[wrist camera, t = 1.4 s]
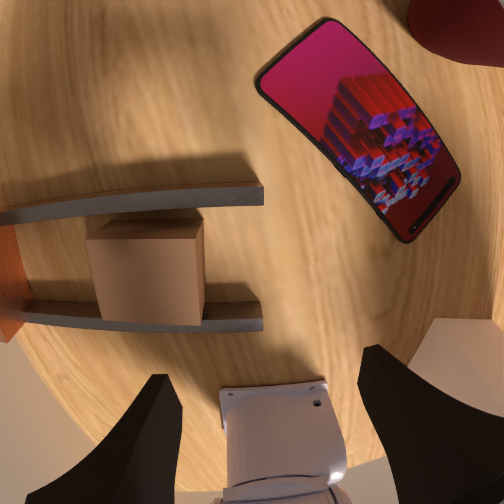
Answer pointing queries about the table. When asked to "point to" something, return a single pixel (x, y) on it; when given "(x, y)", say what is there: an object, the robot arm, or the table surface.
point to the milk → (464, 361)
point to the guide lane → (129, 200)
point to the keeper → (149, 270)
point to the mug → (460, 29)
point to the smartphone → (363, 125)
